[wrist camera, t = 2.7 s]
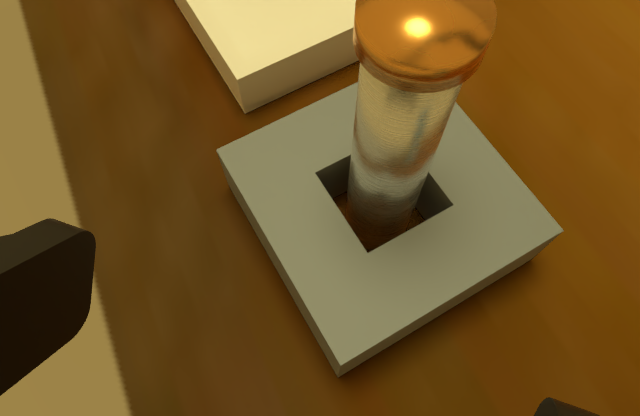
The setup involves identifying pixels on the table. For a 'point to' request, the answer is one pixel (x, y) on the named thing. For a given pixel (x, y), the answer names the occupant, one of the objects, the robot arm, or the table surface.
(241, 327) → the table surface
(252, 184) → the block
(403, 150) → the pin
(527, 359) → the table surface
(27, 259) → the robot arm
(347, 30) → the pin tray
